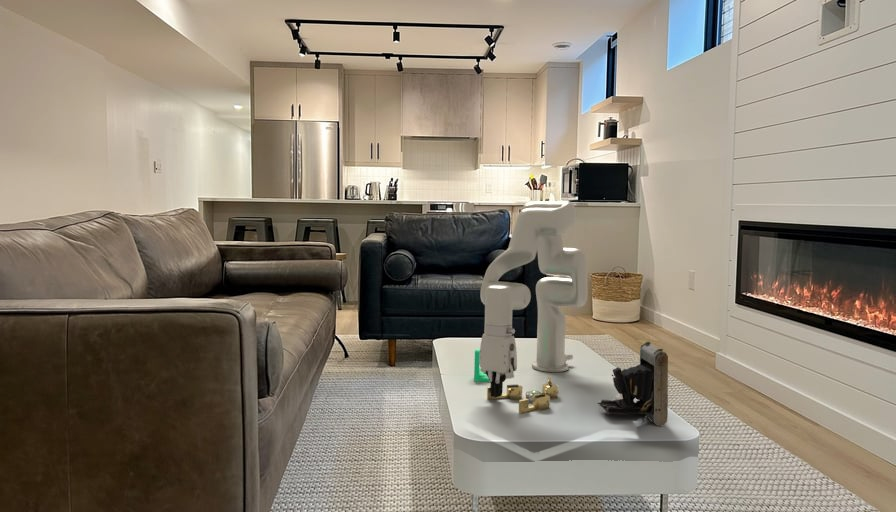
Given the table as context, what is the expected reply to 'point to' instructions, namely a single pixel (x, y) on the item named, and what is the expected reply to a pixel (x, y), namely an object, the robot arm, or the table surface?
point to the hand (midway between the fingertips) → (496, 395)
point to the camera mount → (478, 374)
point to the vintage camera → (642, 387)
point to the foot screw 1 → (508, 392)
